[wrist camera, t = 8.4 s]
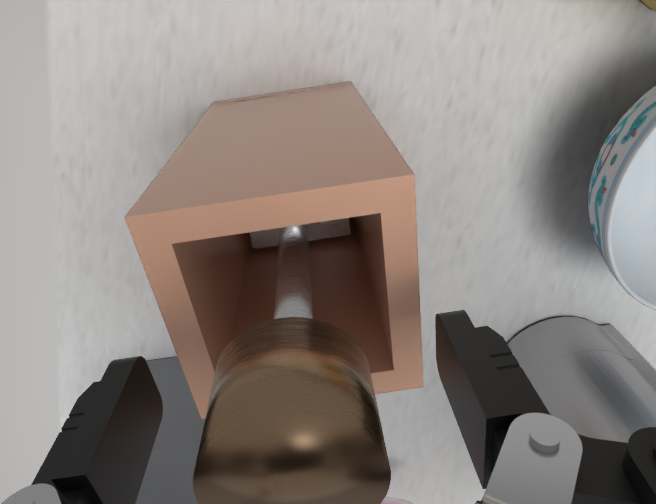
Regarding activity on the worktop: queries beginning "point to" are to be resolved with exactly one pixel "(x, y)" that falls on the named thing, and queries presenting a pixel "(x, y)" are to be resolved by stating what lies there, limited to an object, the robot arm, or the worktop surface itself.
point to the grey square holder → (172, 439)
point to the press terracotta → (283, 211)
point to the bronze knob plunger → (292, 401)
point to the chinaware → (628, 200)
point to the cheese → (650, 3)
